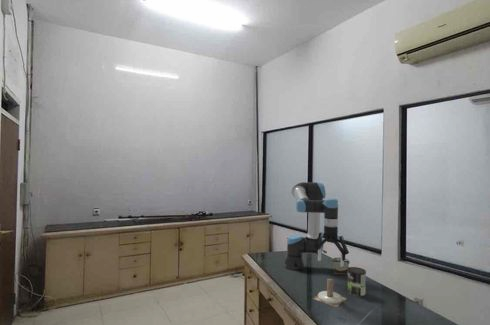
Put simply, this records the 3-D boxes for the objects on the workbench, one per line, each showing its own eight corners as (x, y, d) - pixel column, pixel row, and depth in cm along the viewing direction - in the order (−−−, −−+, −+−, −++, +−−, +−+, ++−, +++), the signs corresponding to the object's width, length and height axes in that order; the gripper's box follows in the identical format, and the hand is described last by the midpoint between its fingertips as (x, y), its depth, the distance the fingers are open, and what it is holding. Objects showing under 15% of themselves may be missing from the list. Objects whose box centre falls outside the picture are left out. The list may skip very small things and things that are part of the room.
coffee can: (352, 297, 164) (352, 273, 164) (344, 290, 174) (344, 267, 174) (369, 297, 164) (369, 272, 165) (360, 289, 175) (360, 266, 175)
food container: (347, 271, 206) (347, 257, 207) (349, 274, 200) (349, 260, 200) (330, 270, 208) (330, 256, 208) (331, 273, 201) (332, 259, 202)
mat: (312, 299, 160) (312, 298, 160) (324, 292, 170) (324, 291, 170) (336, 308, 150) (336, 306, 150) (346, 299, 161) (346, 298, 161)
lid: (314, 298, 160) (314, 279, 160) (324, 291, 169) (324, 273, 170) (335, 306, 151) (336, 286, 151) (345, 298, 161) (345, 279, 161)
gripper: (308, 223, 167) (307, 259, 166) (349, 230, 150) (349, 270, 150) (314, 222, 173) (313, 257, 172) (355, 228, 156) (354, 266, 155)
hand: (330, 263), depth 161 cm, fingers open, 13 cm apart
